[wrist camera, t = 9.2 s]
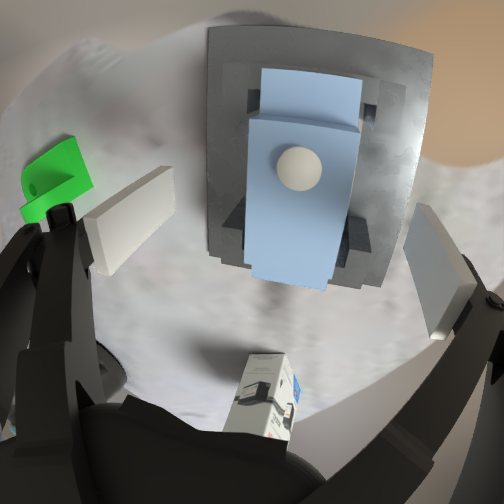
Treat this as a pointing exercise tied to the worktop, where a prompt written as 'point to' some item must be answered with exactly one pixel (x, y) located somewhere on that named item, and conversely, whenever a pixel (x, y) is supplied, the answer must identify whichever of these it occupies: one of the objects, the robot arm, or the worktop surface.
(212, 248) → the chassis pocket
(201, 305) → the worktop surface
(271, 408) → the ink box
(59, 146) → the mechanical part
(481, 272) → the worktop surface
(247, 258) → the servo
